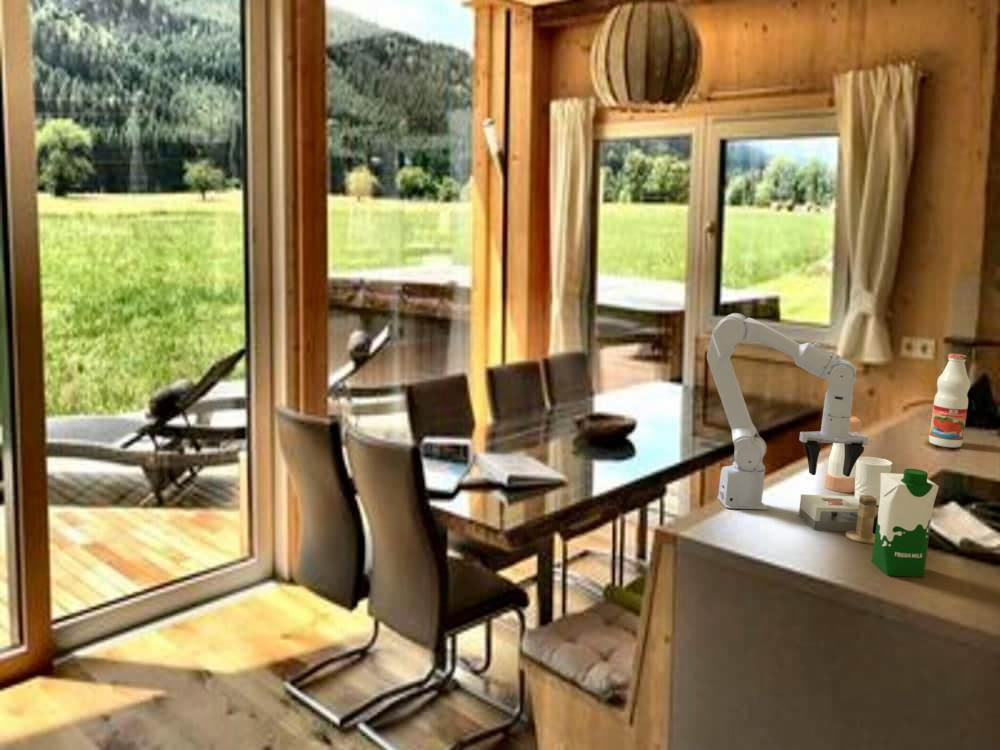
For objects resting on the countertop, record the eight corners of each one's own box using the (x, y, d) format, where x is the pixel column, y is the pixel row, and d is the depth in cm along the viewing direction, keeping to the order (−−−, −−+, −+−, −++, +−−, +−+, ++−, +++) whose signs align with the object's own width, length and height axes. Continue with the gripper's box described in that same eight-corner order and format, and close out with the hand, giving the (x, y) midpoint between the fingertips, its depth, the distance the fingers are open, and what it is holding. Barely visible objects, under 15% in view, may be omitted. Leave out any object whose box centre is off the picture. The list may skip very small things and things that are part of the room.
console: (814, 529, 194) (816, 507, 193) (798, 515, 203) (801, 494, 202) (868, 531, 194) (871, 509, 193) (851, 517, 203) (853, 496, 202)
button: (830, 516, 197) (831, 505, 196) (824, 511, 200) (826, 500, 199) (843, 516, 197) (845, 505, 196) (838, 512, 200) (839, 501, 199)
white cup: (865, 507, 212) (870, 465, 210) (844, 496, 219) (849, 456, 217) (894, 505, 214) (899, 465, 212) (872, 495, 221) (877, 456, 220)
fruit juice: (959, 442, 283) (972, 354, 278) (963, 449, 274) (977, 358, 269) (926, 438, 286) (938, 351, 281) (929, 445, 277) (942, 355, 272)
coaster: (854, 543, 187) (854, 541, 187) (840, 531, 194) (840, 529, 193) (887, 544, 187) (887, 542, 187) (872, 532, 194) (872, 530, 194)
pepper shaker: (857, 493, 222) (867, 417, 219) (826, 490, 223) (835, 414, 220) (852, 485, 229) (861, 411, 226) (822, 482, 230) (831, 409, 227)
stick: (860, 537, 189) (865, 498, 187) (855, 533, 191) (860, 495, 190) (871, 538, 189) (877, 499, 188) (866, 534, 192) (871, 495, 190)
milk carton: (884, 577, 169) (898, 474, 165) (864, 559, 178) (876, 460, 174) (931, 579, 169) (945, 476, 166) (908, 561, 178) (921, 462, 175)
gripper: (810, 417, 195) (803, 478, 197) (877, 420, 195) (868, 481, 197) (799, 410, 201) (792, 469, 204) (863, 413, 202) (855, 472, 204)
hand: (829, 474), depth 201 cm, fingers open, 7 cm apart
